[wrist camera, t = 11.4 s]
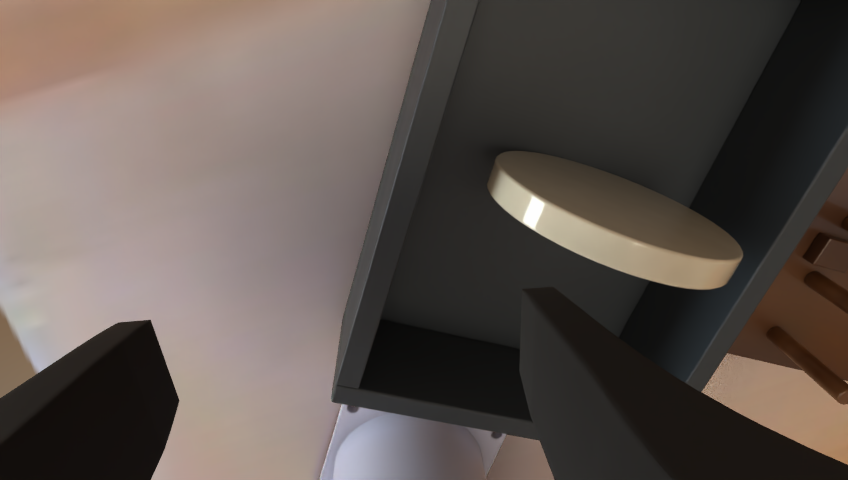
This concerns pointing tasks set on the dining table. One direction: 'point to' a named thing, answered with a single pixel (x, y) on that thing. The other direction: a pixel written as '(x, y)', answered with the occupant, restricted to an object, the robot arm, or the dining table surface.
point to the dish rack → (808, 304)
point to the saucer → (613, 221)
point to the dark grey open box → (597, 147)
